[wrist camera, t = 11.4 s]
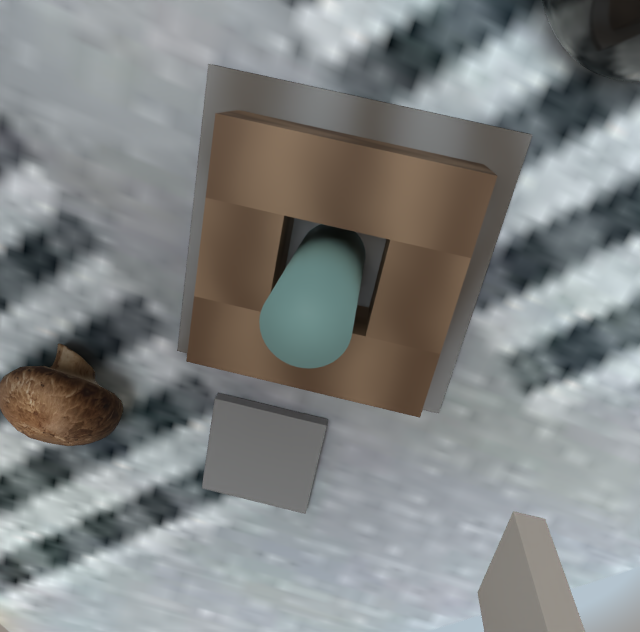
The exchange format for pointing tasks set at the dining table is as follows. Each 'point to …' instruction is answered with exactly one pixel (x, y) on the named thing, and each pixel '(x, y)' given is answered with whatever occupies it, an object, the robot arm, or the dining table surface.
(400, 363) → the socket
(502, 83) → the dining table surface
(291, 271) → the peg
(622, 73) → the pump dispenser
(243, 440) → the pad
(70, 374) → the mushroom
